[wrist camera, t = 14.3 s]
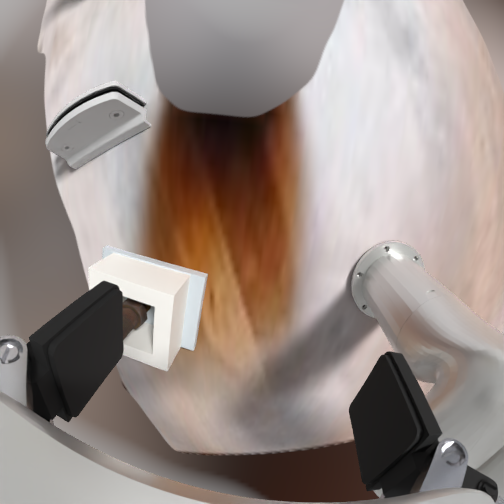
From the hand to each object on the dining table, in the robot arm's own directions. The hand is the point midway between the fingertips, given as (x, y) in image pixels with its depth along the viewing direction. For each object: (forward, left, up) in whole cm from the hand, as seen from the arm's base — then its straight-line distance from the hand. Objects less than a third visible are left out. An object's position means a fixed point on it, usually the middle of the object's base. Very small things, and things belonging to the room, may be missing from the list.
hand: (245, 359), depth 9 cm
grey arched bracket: (+29, -8, -31) cm, 43 cm away
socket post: (+16, +18, -30) cm, 39 cm away
